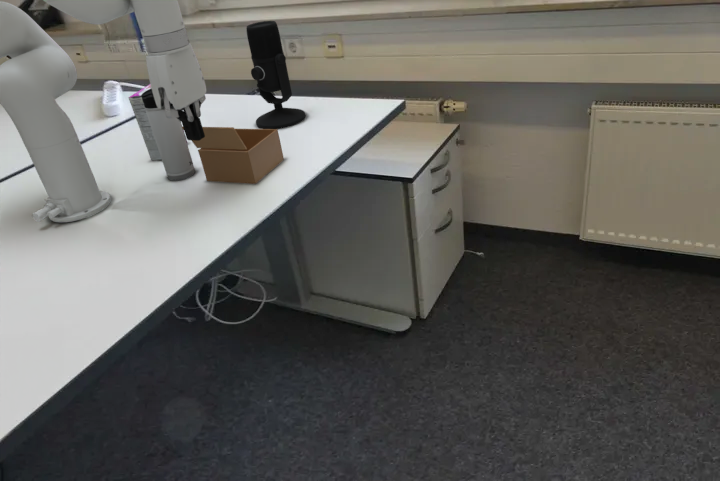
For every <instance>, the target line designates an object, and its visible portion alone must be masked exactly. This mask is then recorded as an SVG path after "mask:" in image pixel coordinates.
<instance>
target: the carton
mask: <svg viewBox="0 0 720 481" xmlns="http://www.w3.org/2000/svg"><path fill="white" fill-rule="evenodd" d="M234 129H235V130H236V132H237V134H238V135H239V137H240V138H241V140H242V141H243V143H244V145H245V146H246V148H247V150H242V149H211V148H198V150H197V152H198V156H199V159H200V162H201V165H202V169H203V172H204V175H205V179H206V182H213V183H215V182H216V183H229V184H230V183H231V184H232V183H233V184H249V185H256V184H258V183H259V182H260V181H262V179H264V178H265V177H266V176H267V175H268V174H269V173H271V172H272V170H274V169H275V168H276V167H278V166H279V165H280V164H281V163H282V162H283V161H284V160H285V157H284V153H283V150H282V144H281V139H280V135H279V129H261V128H234Z"/></svg>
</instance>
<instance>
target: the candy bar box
mask: <svg viewBox="0 0 720 481" xmlns="http://www.w3.org/2000/svg"><path fill="white" fill-rule="evenodd" d="M149 89H151V84H150V83H149V84H148V85H146V86H144V87H143V88H141V89H140V90H137V92H134V93H133V94H131V95H130V96H128V100H129V103H130V105H131V109H132V111H133V114H134V116H135V119H136V122H137V125H138V128H139V130H140V133H141V137H142V138H143V142H144V145H145V147H146V150H147V153H148V155H149V158H150V161H152V162H159V161H162V159H161V156H160V153H159V150H158V147H157V144H156V141H155V138H154V135H153V132H152V129H151V126H150V123H149V120H148V117H147V114H146V110H145V108H144V103H143V100H142V97H141V95H142V94H143V93H144V92H145V91H147V90H149ZM181 125H182V123H181ZM182 126H183V125H182ZM183 132H184V135H185V138H186V134H185V131H184V130H183ZM186 142H187V144H188V140H187V138H186Z"/></svg>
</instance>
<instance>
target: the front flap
mask: <svg viewBox="0 0 720 481" xmlns="http://www.w3.org/2000/svg"><path fill="white" fill-rule="evenodd" d="M182 128H183V126H182ZM202 128H203V131H204V134H205V137H204V138H202V139H201V140H200V141H194V140H190V141H191V142H192V144H193V145H194V146H195V147H196V149H201V148H211V149H242V150H247V148H246V146H245V145H244V143H243V141H242V140H241V138H240V137H239V135H238V134H237V132H236V130H235V129H236V128H235V127H234V126H233V127H231V126H230V127H229V126H202ZM183 130H184V128H183Z"/></svg>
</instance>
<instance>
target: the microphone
mask: <svg viewBox="0 0 720 481" xmlns="http://www.w3.org/2000/svg"><path fill="white" fill-rule="evenodd" d="M245 29H246V37H247V41H248V46H249V50H250V56H251V57H250V58H251V61H252V65H253V68H251V70H250V75H251V77H252V79H253V80H254V81H256V87H257V88H258V92H259V95H260V97H261V98H262V99H263V100H264V101H265V102H266V103H268V104H270V105H271V104H272V105H273V106H274V109H272V110H269V111H267V112H265V113H263V114H261V115H260V116H258V117H257V118H256V119H255V125H256V127H257V128H258V129H278V130H280V129H281V130H282V129H286V128H290V127H293V126H296V125H298V124H300V123H302V122H303V121H305V119H306V117H307V115H306V111H305V110H303V109H301V108H292V107H283V104H284V103H286V102H288V100H290V98H291V97H292V96H293V92H292V87H291V82H290V76H289V72H288V67H287V61H286V60H287V58H286V55H285V53H284V50H283V44H282V40H281V34H280V31H279V26H278V23H277V21H276V20H264V21H257V22H253V23H251V24H248V25H246V28H245ZM275 92H280V93H281V98H280V97H276V96H275V95H274V94H273V93H275Z"/></svg>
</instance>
